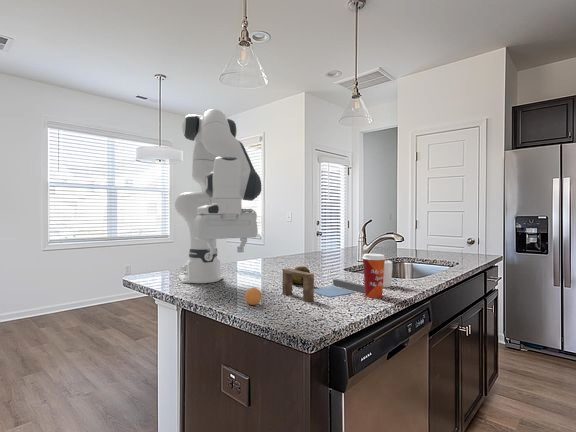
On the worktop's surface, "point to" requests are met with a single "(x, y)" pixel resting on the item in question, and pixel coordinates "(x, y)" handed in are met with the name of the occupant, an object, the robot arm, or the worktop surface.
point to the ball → (253, 296)
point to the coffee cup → (373, 274)
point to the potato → (296, 278)
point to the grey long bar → (349, 285)
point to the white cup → (387, 273)
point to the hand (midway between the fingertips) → (227, 253)
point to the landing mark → (332, 291)
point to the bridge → (307, 283)
